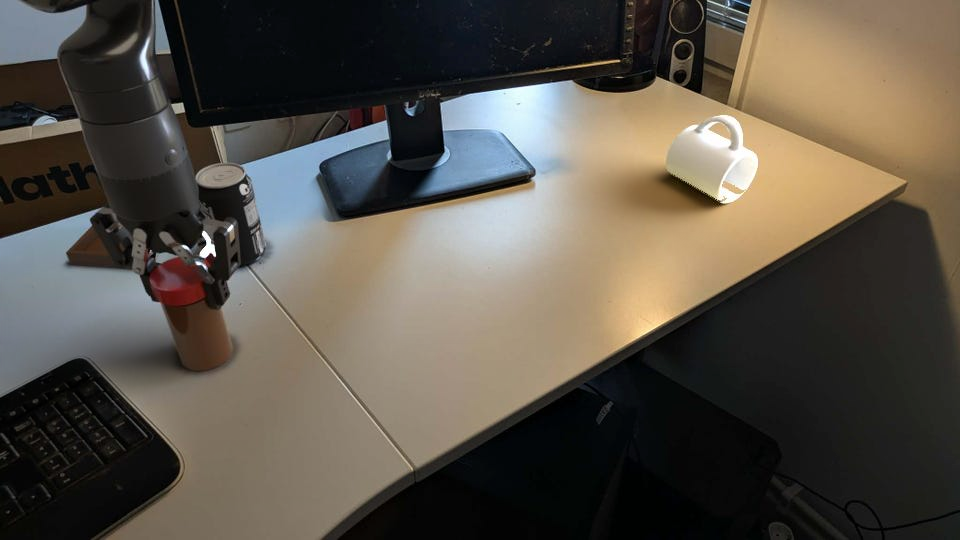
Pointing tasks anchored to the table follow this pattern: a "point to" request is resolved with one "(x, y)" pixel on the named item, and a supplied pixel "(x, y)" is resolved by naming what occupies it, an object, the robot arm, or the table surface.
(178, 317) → the jar
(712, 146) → the mug
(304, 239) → the table surface
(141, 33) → the robot arm
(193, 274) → the jar lid
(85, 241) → the tray
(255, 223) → the beverage can
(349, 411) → the table surface
